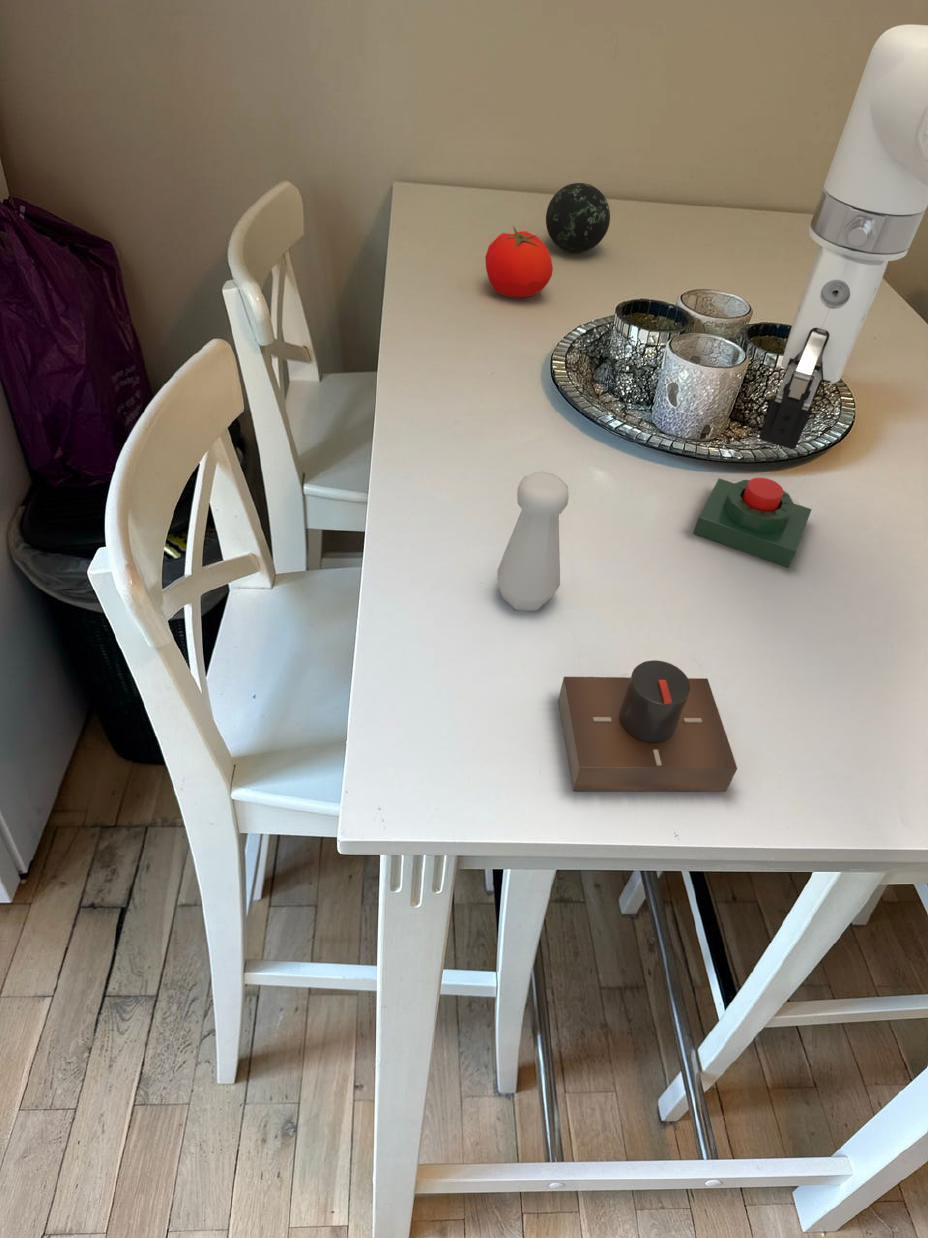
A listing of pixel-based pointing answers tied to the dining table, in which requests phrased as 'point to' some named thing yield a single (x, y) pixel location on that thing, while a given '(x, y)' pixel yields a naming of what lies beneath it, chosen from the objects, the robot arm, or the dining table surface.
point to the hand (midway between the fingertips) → (787, 417)
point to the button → (763, 494)
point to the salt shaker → (534, 543)
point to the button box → (752, 523)
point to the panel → (631, 764)
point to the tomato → (518, 264)
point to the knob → (654, 701)
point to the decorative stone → (577, 217)
